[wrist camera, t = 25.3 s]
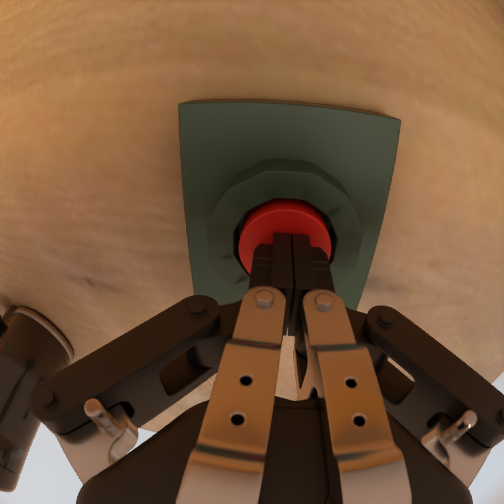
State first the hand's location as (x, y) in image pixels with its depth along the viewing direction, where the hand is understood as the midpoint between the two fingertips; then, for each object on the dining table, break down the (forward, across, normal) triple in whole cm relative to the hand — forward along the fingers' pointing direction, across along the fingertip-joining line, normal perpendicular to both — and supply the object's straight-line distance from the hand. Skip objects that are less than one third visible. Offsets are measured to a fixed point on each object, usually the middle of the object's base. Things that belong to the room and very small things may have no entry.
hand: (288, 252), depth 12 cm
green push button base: (+4, 0, 0) cm, 4 cm away
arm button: (+2, 0, 0) cm, 2 cm away
